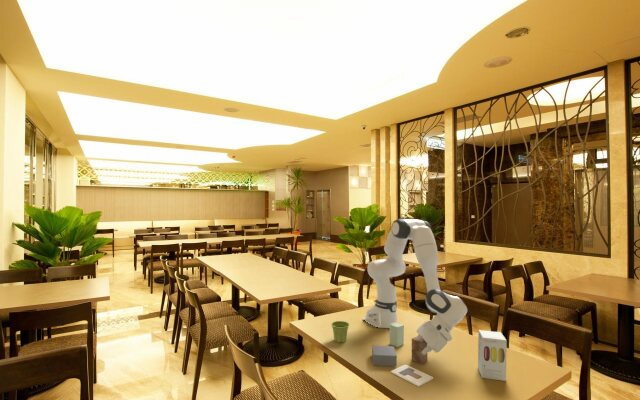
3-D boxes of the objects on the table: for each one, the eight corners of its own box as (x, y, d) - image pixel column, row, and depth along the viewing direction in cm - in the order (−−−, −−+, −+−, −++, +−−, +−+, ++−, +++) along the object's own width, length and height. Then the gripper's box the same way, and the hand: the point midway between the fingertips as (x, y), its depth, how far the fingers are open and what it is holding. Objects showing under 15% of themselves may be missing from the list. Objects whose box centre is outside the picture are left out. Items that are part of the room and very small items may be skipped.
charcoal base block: (372, 355, 158) (372, 345, 159) (393, 356, 158) (393, 346, 158) (373, 366, 149) (373, 354, 149) (396, 367, 148) (396, 355, 148)
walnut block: (411, 360, 154) (411, 338, 154) (418, 357, 157) (418, 335, 157) (420, 364, 150) (421, 342, 150) (427, 361, 153) (427, 339, 153)
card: (390, 372, 142) (390, 370, 142) (405, 365, 149) (405, 363, 149) (418, 386, 131) (418, 384, 131) (433, 378, 138) (433, 376, 138)
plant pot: (340, 346, 169) (340, 328, 169) (327, 340, 176) (327, 323, 176) (352, 341, 175) (352, 324, 175) (340, 335, 182) (340, 319, 182)
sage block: (389, 343, 172) (389, 324, 172) (395, 341, 175) (395, 322, 175) (397, 347, 168) (397, 327, 168) (403, 344, 171) (403, 325, 171)
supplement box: (481, 378, 138) (481, 337, 139) (477, 367, 147) (477, 329, 147) (507, 381, 136) (507, 339, 136) (501, 370, 145) (501, 331, 145)
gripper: (426, 314, 164) (406, 335, 164) (444, 330, 144) (421, 353, 143) (435, 323, 164) (415, 344, 164) (454, 340, 144) (431, 364, 143)
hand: (418, 348), depth 153 cm, fingers open, 8 cm apart
